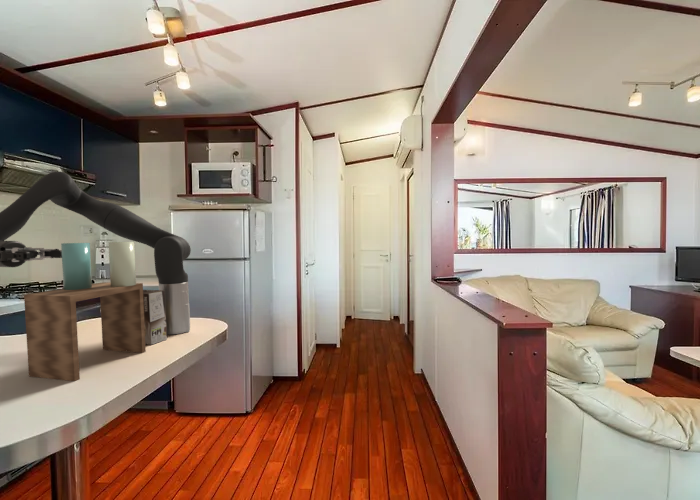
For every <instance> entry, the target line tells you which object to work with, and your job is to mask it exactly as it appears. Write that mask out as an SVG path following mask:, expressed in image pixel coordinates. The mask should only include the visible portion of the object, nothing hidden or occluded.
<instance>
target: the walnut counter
mask: <svg viewBox="0 0 700 500" xmlns="http://www.w3.org/2000/svg"><path fill="white" fill-rule="evenodd" d="M143 290H144V285H143V282H141V283H140V282H136V285H132V286H124V287H111V282H105V281H103V282H96V283H92V287H91V288H87V289H78V290H64V288H57V289H52V290H45V291H39V292H33V293H25V294H24V295H23V298H24V299H23V300H24V301H23V302H24V315H25V318H24V319H25V332H26V350H27V367H28V377H30V378H32V377H33V378H41V379H42V378H43V379H50V380H60V381H70V382H76V381H78V380H80V375H81V374H80V356H79V341H78V336H79V335H78V322H77V321H78V319H77V318H78V317H77V302H82V301H86V300H90V299H91V300H93V299H96V298H100V299H99V300H100V319H101V321H100V323H101V338H102V339H101V341H102V343H101V344H102V350H103V351H112V352H113V351H114V352H127V353H136V354H137V353H139V354H143V353H146V350H147V349H146V344H145V324H144V301H143Z"/></svg>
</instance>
